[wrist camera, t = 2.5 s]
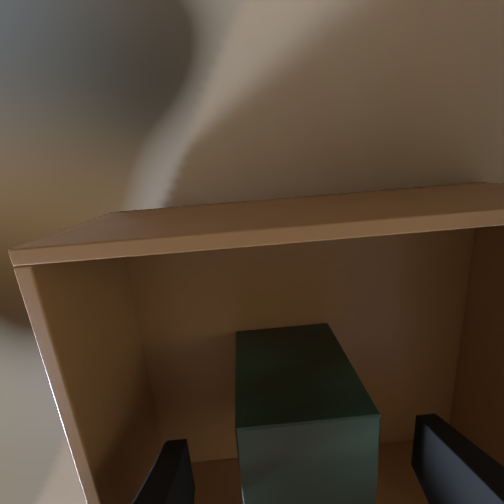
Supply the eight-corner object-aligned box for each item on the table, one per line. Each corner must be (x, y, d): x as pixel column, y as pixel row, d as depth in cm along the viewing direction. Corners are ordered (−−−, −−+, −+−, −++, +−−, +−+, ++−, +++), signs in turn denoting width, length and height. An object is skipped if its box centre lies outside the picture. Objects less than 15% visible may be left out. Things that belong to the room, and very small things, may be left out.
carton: (483, 182, 12) (672, 194, 7) (448, 435, 16) (555, 570, 10) (109, 212, 12) (6, 249, 6) (161, 464, 15) (122, 619, 10)
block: (328, 322, 13) (381, 415, 8) (328, 398, 14) (375, 519, 9) (235, 330, 13) (234, 429, 8) (243, 406, 14) (246, 533, 9)
